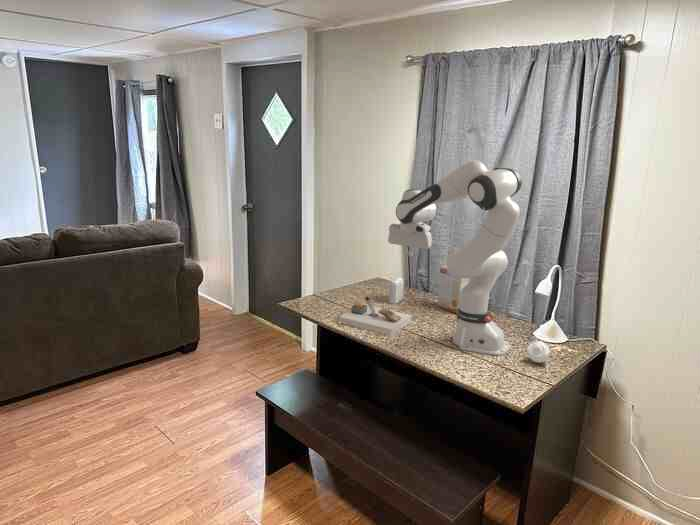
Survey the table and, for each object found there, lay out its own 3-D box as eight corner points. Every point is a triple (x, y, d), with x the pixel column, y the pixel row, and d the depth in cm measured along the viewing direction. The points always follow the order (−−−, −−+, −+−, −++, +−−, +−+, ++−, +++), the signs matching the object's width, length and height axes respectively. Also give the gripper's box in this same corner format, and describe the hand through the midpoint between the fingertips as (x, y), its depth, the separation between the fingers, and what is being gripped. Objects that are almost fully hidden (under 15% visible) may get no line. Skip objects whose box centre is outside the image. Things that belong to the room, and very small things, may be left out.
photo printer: (396, 297, 251) (397, 275, 247) (403, 299, 248) (405, 276, 245) (387, 303, 242) (388, 279, 239) (395, 305, 240) (396, 281, 237)
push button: (364, 307, 221) (364, 303, 220) (360, 309, 218) (360, 305, 217) (358, 305, 222) (358, 301, 222) (354, 307, 220) (354, 303, 219)
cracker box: (466, 312, 231) (470, 270, 226) (458, 315, 228) (461, 272, 223) (445, 304, 243) (448, 264, 237) (437, 306, 239) (440, 265, 234)
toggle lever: (376, 311, 217) (369, 295, 217) (374, 313, 215) (367, 296, 215) (372, 312, 218) (365, 296, 218) (370, 314, 216) (363, 297, 216)
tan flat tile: (400, 319, 213) (401, 316, 212) (395, 322, 209) (396, 320, 208) (383, 309, 216) (384, 307, 216) (378, 312, 212) (379, 310, 212)
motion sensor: (523, 361, 181) (525, 342, 180) (530, 355, 187) (532, 336, 185) (544, 368, 177) (547, 348, 175) (551, 361, 182) (554, 342, 180)
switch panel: (410, 321, 219) (411, 309, 217) (390, 336, 202) (391, 322, 201) (361, 310, 232) (361, 298, 230) (339, 322, 215) (339, 310, 214)
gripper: (386, 224, 217) (385, 253, 221) (428, 229, 207) (426, 260, 210) (392, 222, 222) (391, 251, 226) (434, 227, 212) (432, 257, 216)
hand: (408, 255), depth 218 cm, fingers closed
